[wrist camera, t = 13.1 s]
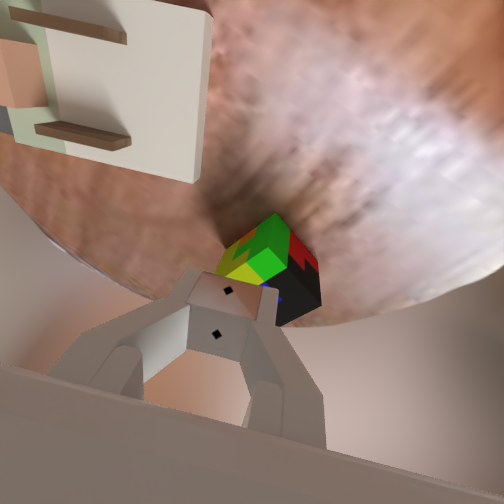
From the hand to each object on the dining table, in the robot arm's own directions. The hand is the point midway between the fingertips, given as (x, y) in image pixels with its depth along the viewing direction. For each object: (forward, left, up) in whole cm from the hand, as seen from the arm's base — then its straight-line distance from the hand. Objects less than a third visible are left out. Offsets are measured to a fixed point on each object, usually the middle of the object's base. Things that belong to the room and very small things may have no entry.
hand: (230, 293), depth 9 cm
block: (-2, -31, -26) cm, 41 cm away
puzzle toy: (+16, +2, -29) cm, 33 cm away
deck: (-2, -25, -29) cm, 39 cm away
